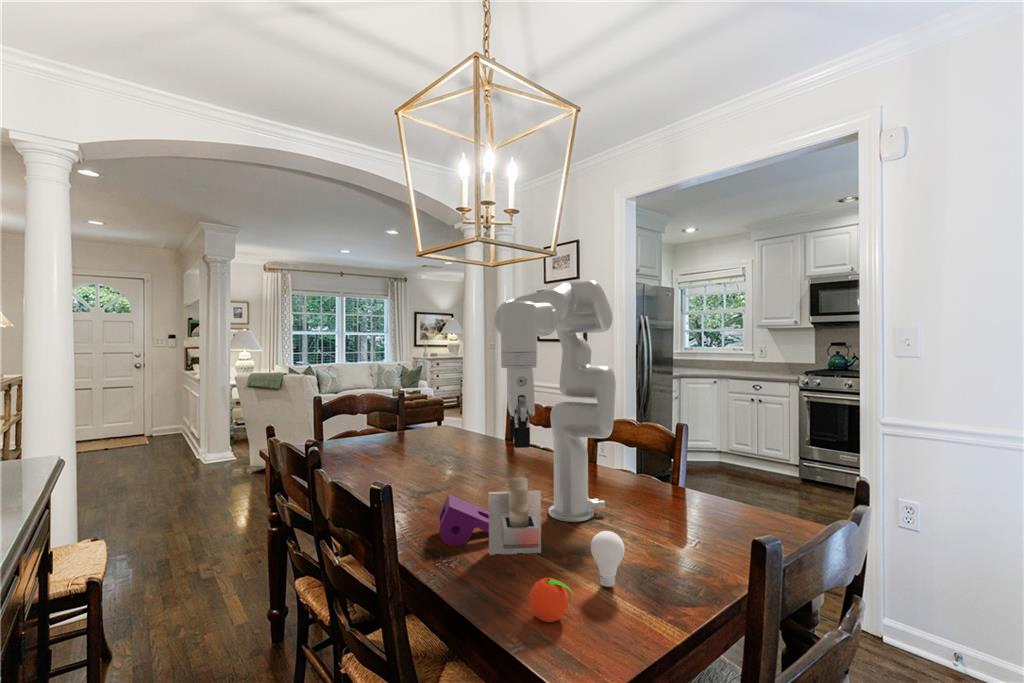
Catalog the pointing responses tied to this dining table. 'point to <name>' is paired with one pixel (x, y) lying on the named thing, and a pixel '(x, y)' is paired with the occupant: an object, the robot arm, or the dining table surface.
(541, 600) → the clementine
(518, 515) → the maple peg
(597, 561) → the light bulb
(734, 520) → the dining table surface
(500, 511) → the cup bracket
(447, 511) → the mounting bracket
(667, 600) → the dining table surface
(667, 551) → the dining table surface
